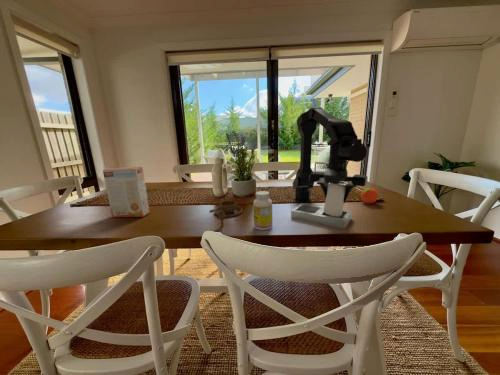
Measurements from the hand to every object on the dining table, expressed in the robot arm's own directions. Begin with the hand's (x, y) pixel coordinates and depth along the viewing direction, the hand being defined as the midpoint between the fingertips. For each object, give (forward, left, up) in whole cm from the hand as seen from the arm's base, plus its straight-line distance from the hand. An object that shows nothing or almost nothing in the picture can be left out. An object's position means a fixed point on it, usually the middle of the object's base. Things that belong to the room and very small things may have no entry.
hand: (335, 201), depth 79 cm
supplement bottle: (-20, -18, -8) cm, 28 cm away
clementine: (+7, +28, -8) cm, 30 cm away
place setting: (-41, -17, -9) cm, 45 cm away
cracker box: (-76, -37, -8) cm, 85 cm away
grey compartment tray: (-5, 0, -8) cm, 9 cm away
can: (-1, +1, -5) cm, 5 cm away
